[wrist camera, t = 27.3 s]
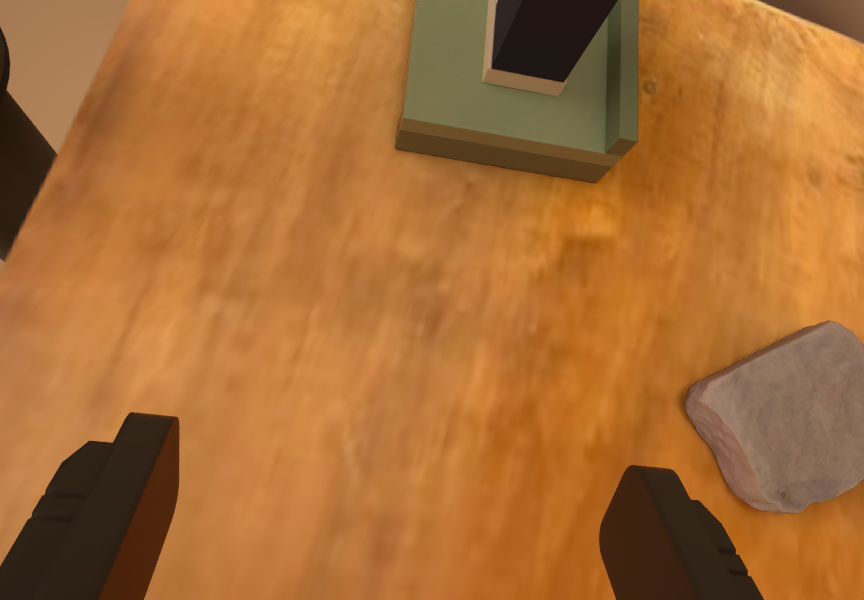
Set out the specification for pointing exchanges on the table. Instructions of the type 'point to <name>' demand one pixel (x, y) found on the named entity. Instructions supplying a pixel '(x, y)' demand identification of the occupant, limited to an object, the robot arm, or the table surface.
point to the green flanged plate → (518, 97)
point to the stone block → (787, 419)
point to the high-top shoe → (539, 41)
